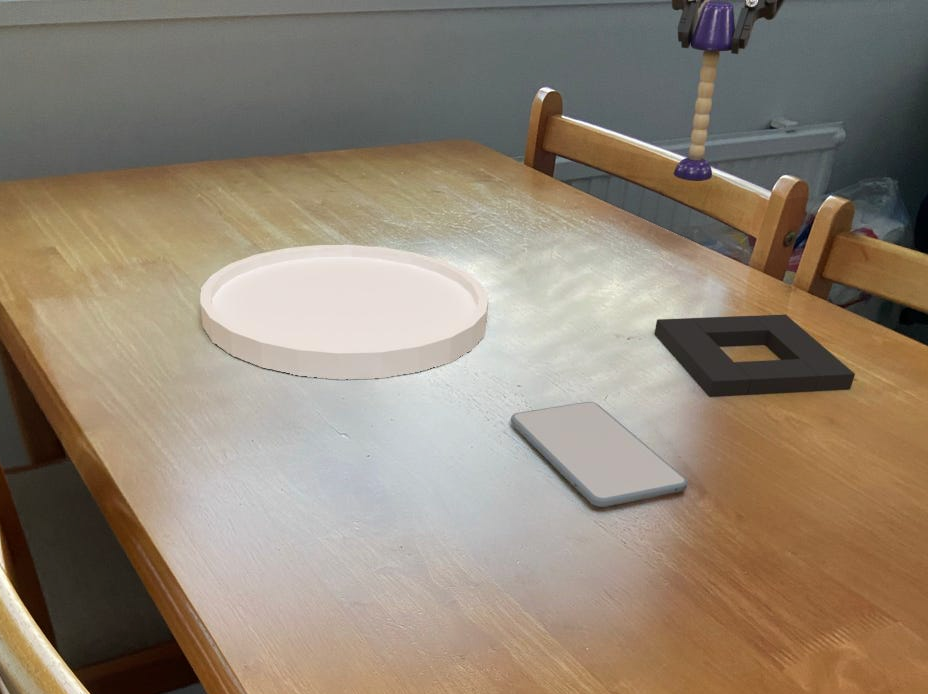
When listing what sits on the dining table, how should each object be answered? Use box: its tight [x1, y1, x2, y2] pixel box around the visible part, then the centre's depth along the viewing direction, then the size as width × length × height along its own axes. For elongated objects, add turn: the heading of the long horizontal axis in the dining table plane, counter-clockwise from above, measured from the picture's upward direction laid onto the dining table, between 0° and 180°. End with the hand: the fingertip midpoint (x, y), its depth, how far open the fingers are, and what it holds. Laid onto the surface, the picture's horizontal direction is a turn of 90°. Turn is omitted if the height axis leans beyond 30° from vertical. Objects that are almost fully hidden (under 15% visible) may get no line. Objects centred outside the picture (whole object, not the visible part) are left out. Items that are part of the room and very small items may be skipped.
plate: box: [199, 244, 489, 381], centre depth 99 cm, size 28×28×2 cm
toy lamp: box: [673, 1, 736, 182], centre depth 109 cm, size 5×5×17 cm
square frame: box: [654, 314, 856, 398], centre depth 93 cm, size 13×13×3 cm
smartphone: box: [510, 401, 688, 508], centre depth 80 cm, size 8×1×15 cm
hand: (709, 44), depth 104 cm, fingers closed on toy lamp, 4 cm apart
